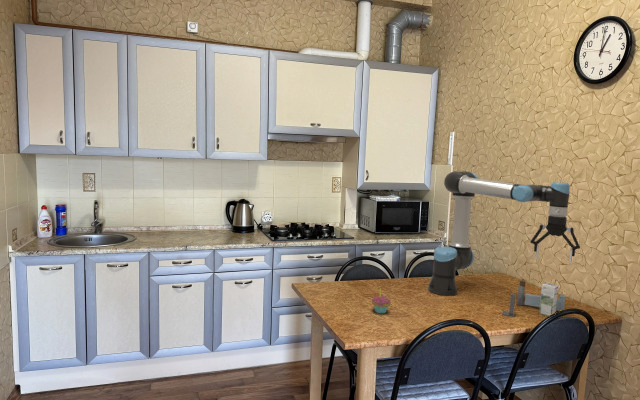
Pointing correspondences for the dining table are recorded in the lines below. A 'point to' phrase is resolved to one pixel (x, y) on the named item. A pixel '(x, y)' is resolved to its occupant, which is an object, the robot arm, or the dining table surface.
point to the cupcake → (381, 303)
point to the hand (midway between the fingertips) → (553, 260)
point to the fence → (522, 283)
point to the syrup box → (548, 299)
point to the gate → (536, 299)
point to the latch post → (511, 310)
